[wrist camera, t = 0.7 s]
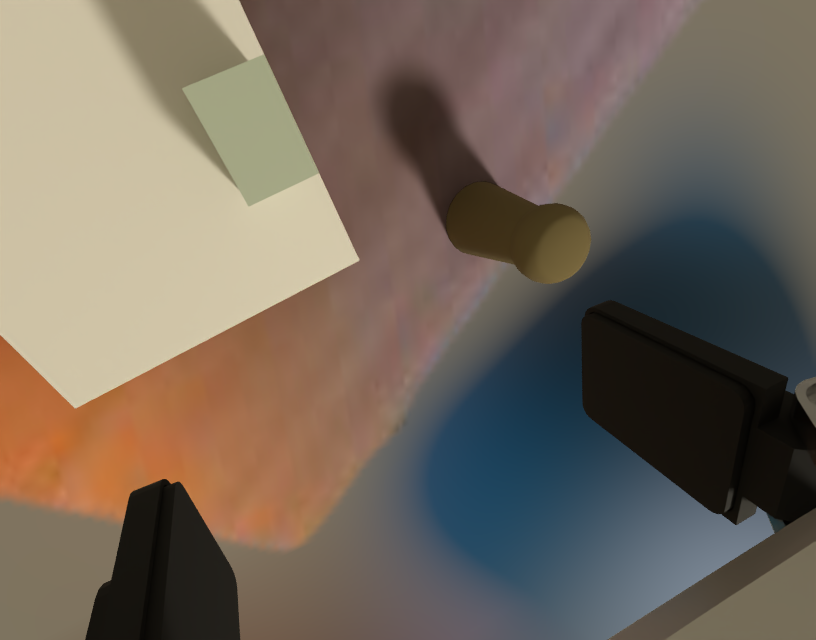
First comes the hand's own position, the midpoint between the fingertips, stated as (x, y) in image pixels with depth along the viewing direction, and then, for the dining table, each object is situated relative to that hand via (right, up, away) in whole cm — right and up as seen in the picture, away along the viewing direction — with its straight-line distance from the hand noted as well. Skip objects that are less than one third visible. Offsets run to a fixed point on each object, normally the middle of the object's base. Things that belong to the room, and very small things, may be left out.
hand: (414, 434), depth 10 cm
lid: (-14, +9, +13) cm, 22 cm away
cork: (+6, +11, +28) cm, 30 cm away
